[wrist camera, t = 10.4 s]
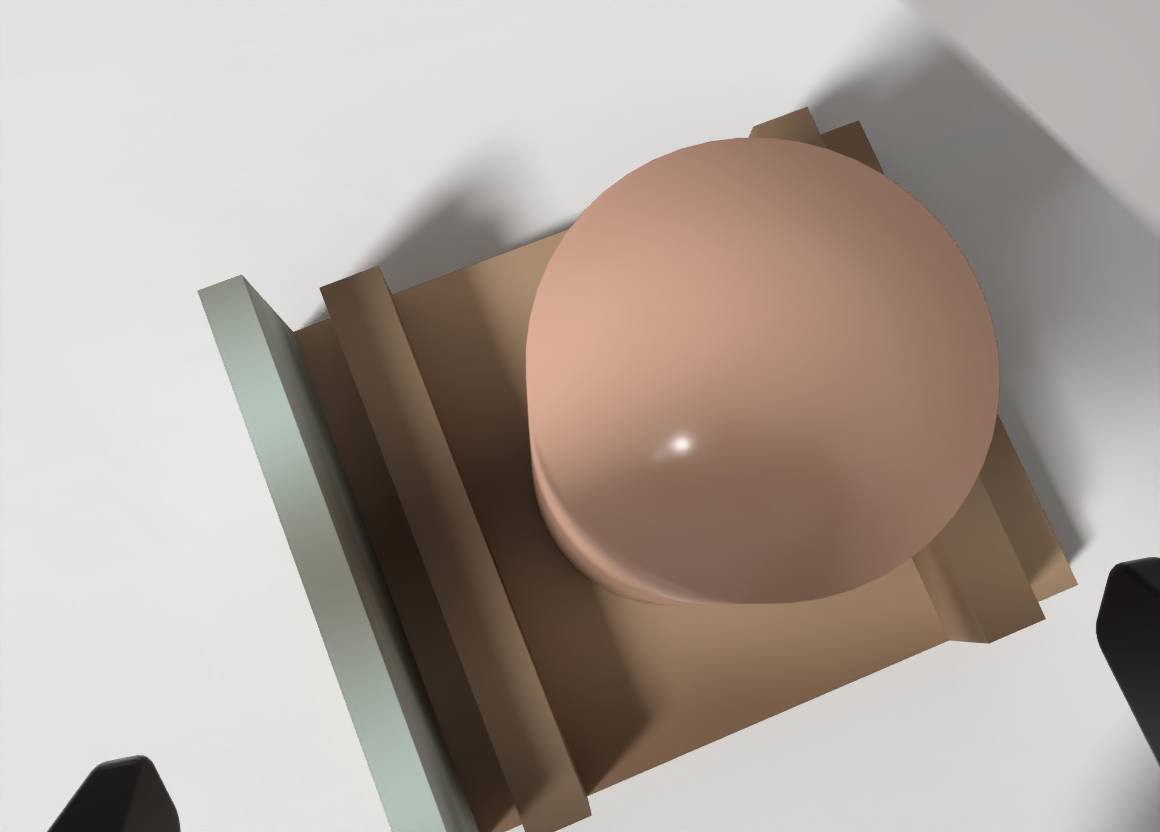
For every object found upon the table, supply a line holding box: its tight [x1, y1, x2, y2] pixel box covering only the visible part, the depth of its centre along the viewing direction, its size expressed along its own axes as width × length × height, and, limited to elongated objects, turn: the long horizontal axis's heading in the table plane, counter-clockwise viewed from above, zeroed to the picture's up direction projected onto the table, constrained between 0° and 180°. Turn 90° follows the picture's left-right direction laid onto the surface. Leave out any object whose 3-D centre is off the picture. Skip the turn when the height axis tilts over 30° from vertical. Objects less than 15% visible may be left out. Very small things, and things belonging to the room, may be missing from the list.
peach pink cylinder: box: [526, 138, 1000, 605], centre depth 18 cm, size 6×6×10 cm
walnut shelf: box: [198, 107, 1078, 832], centre depth 21 cm, size 11×14×5 cm
